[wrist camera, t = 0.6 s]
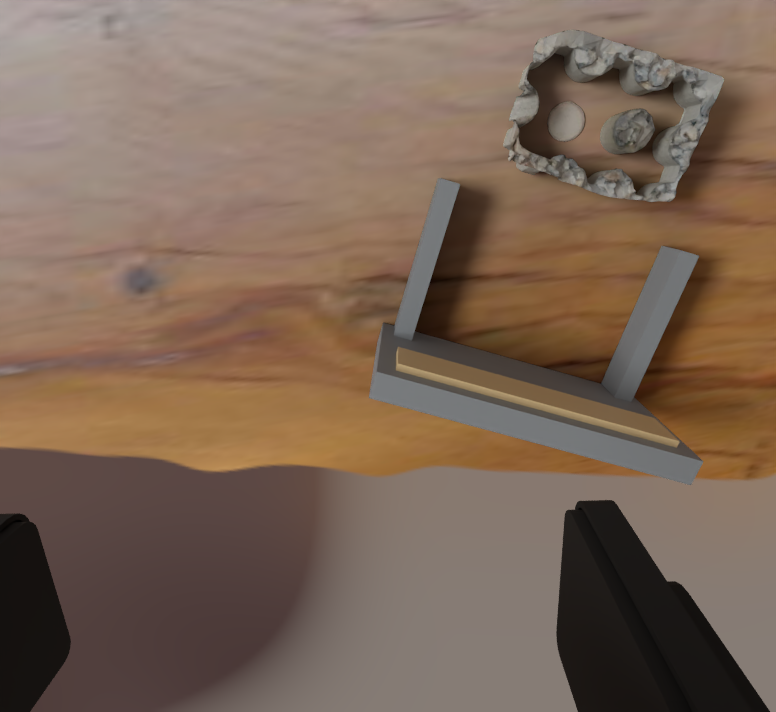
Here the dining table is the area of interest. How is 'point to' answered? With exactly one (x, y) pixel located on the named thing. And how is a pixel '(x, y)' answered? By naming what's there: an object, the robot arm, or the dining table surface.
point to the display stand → (536, 373)
